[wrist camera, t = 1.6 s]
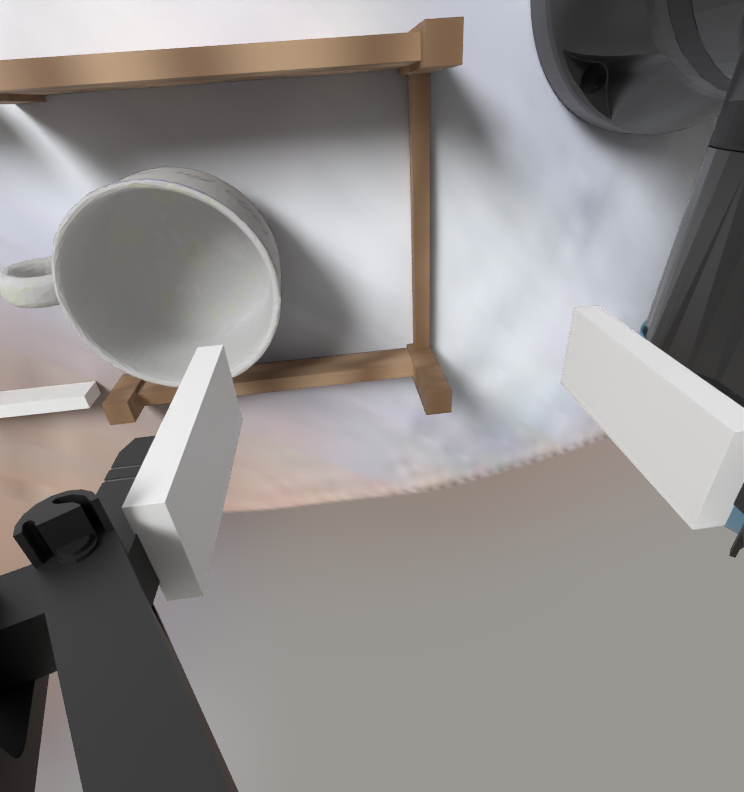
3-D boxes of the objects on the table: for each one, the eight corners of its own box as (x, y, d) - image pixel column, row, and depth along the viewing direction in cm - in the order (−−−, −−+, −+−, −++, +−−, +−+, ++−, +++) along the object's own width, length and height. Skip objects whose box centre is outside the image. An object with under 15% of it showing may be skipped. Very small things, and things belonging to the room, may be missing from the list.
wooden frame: (428, 37, 25) (463, 16, 19) (428, 361, 35) (451, 412, 30) (-1, 67, 24) (-105, 54, 18) (130, 393, 34) (92, 453, 28)
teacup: (299, 184, 28) (295, 210, 21) (276, 345, 34) (267, 406, 27) (41, 124, 25) (-58, 131, 19) (61, 310, 31) (-11, 368, 24)
